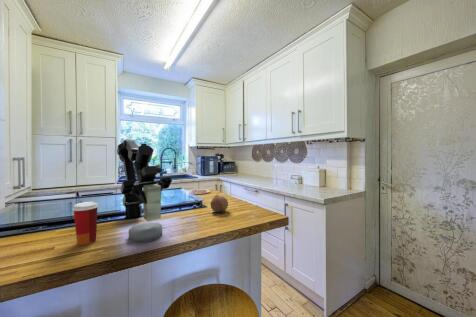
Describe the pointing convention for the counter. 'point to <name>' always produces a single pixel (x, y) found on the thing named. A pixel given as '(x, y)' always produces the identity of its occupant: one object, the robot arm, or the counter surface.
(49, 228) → the counter surface
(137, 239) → the slate plinth
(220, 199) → the onion
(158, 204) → the sage block
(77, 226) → the paper cup
